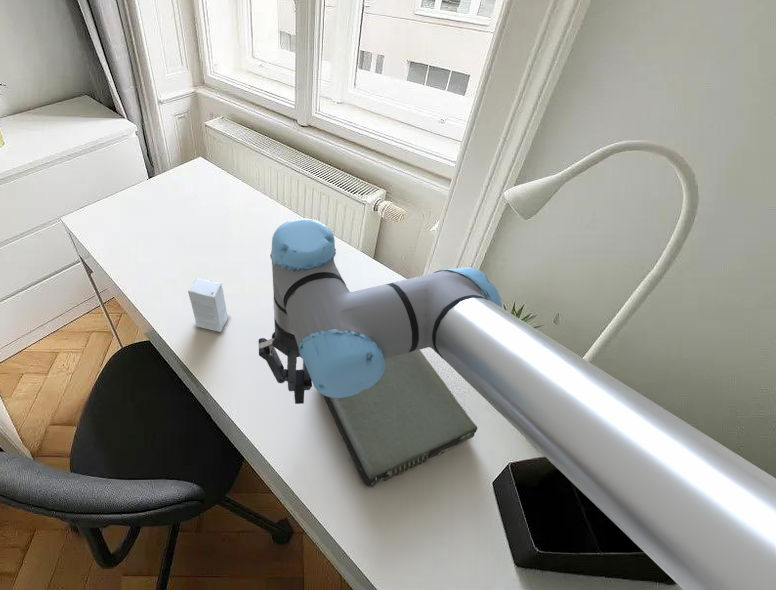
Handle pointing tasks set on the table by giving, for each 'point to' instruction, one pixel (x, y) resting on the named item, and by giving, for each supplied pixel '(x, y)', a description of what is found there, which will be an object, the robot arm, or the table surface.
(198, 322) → the cosmetic box
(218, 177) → the table surface
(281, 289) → the robot arm
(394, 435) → the network switch
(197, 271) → the table surface
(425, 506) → the table surface
